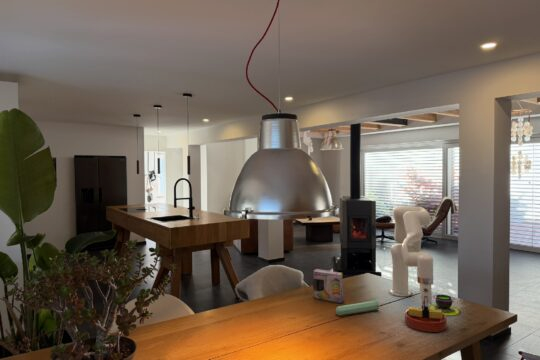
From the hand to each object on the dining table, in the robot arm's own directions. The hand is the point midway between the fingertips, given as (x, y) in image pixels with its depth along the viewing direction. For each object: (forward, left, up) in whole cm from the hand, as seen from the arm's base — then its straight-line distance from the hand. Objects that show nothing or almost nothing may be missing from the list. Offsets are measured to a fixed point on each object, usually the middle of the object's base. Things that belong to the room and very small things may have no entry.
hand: (425, 315), depth 190 cm
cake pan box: (-22, -54, -5) cm, 59 cm away
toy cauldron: (-24, +11, -5) cm, 27 cm away
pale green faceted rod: (-6, -35, -5) cm, 36 cm away
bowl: (0, 0, -5) cm, 5 cm away
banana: (-1, 0, -1) cm, 1 cm away
